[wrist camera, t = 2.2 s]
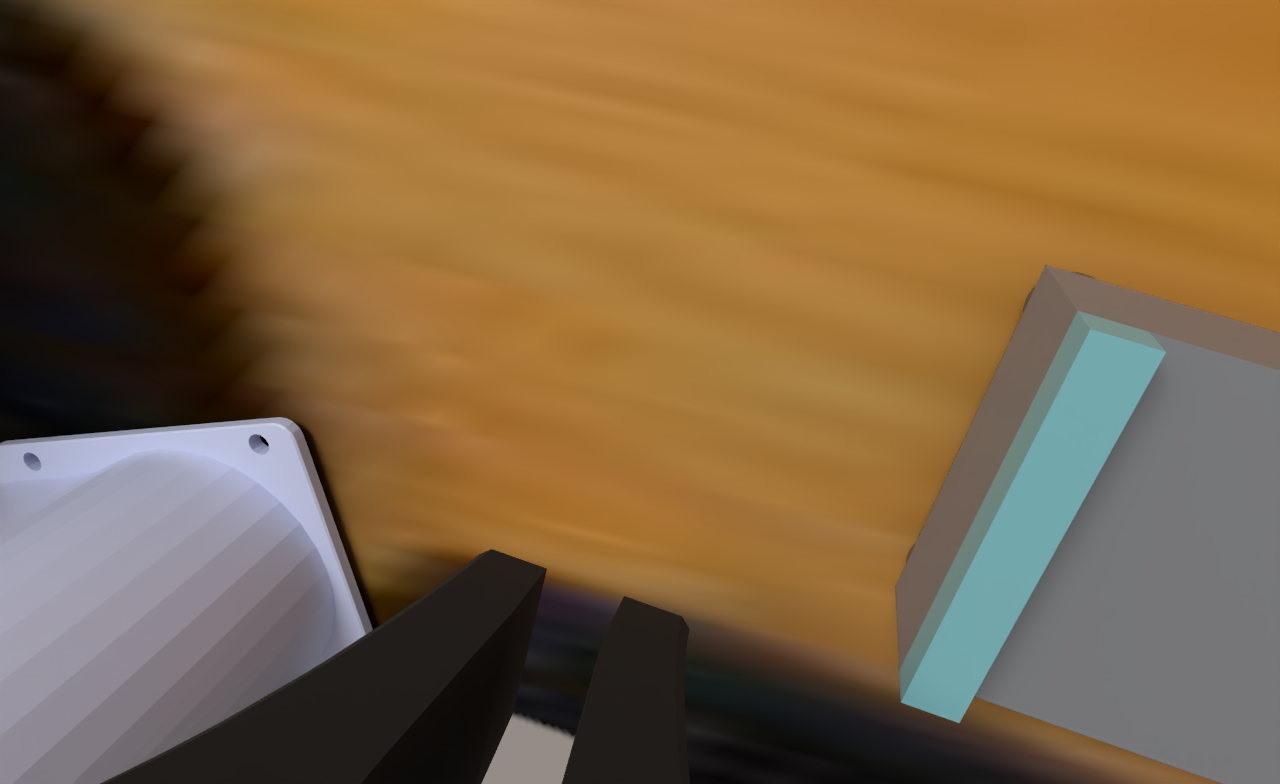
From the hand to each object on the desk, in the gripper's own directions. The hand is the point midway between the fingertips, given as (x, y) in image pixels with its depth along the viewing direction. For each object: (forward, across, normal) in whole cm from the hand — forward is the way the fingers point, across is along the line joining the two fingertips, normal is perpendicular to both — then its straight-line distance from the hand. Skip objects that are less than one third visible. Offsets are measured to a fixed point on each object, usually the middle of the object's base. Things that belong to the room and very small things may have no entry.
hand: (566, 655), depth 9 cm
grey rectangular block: (+9, -10, 0) cm, 14 cm away
